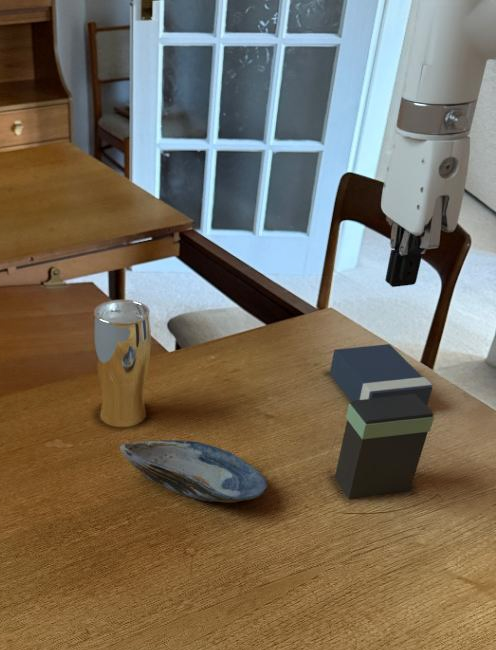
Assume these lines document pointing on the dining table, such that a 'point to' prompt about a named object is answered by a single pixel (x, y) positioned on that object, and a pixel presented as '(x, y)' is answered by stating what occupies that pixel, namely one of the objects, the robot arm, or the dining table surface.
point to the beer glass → (122, 359)
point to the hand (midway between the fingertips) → (400, 283)
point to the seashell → (196, 470)
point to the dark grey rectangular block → (382, 445)
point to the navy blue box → (377, 374)
